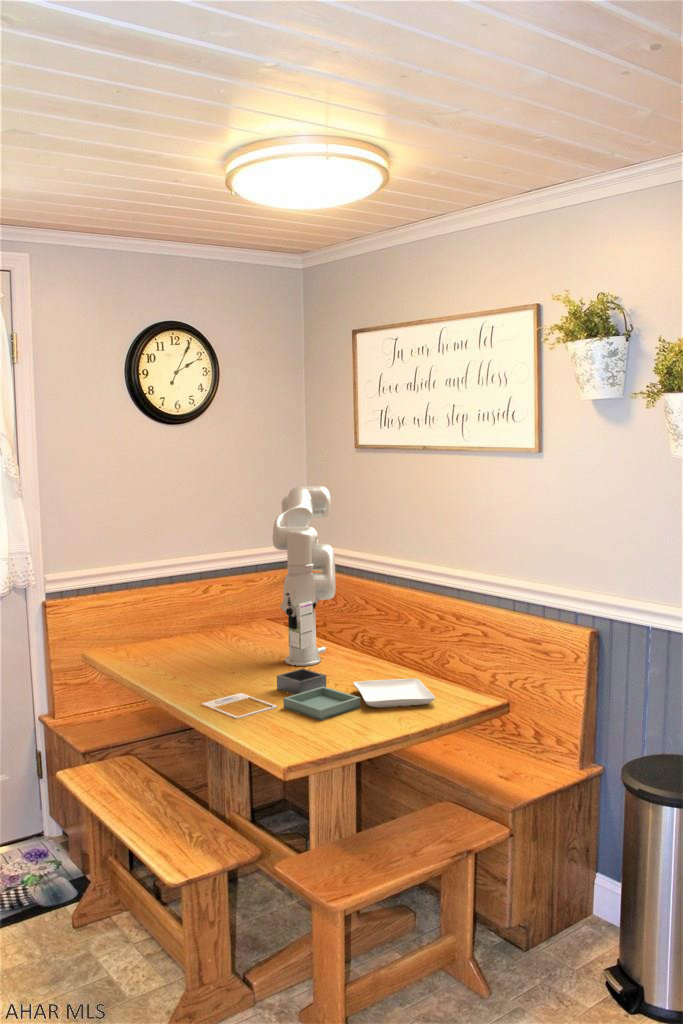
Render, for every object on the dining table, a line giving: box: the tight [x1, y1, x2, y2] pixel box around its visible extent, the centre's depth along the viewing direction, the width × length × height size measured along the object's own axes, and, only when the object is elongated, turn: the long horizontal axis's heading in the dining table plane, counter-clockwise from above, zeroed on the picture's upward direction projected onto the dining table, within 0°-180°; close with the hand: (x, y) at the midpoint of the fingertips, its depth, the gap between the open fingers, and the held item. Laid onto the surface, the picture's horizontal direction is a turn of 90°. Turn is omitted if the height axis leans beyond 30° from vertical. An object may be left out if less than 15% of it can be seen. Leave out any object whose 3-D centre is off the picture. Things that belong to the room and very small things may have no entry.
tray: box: [283, 686, 362, 722], centre depth 251 cm, size 16×16×3 cm
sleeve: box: [276, 668, 327, 695], centre depth 270 cm, size 11×11×4 cm
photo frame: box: [200, 692, 278, 720], centre depth 254 cm, size 15×1×18 cm
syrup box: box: [287, 601, 313, 649], centre depth 268 cm, size 6×6×14 cm
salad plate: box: [352, 677, 436, 709], centre depth 260 cm, size 21×21×3 cm
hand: (300, 625), depth 268 cm, fingers closed on syrup box, 5 cm apart
